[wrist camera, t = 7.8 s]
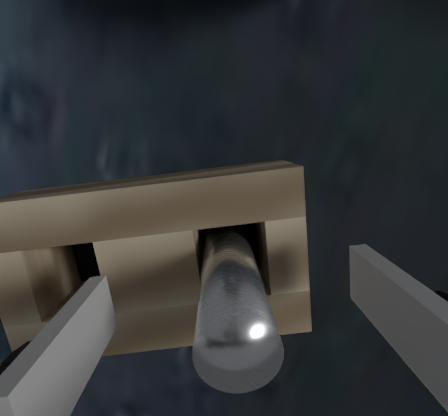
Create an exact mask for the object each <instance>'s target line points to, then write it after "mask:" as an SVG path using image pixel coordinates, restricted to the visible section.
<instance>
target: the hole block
mask: <svg viewBox="0 0 448 416" xmlns="http://www.w3.org/2000/svg"><path fill="white" fill-rule="evenodd" d="M249 223H255V225H256V235H257V246H258V256H259V260H255V261H256V264H257V267H258V270H259V273H260V276H261V279H262V282H263V285H264V288H265V291H266V294H267V298H268V301H269V304H270V307H271V310H272V313H273V316H274V319H275V322H276V325H277V328H278V331H279V334H280V335H285V334H293V333H301V332H310V331H312V328H311V309H310V289H309V270H308V250H307V231H306V211H305V192H304V172H303V166H300V165H297V164H294V163H291V162H287V161H284V160H276V161H268V162H259V163H251V164H243V165H234V166H226V167H218V168H209V169H201V170H193V171H184V172H176V173H168V174H159V175H151V176H143V177H135V178H126V179H118V180H110V181H101V182H93V183H85V184H76V185H68V186H60V187H51V188H43V189H35V190H26V191H22V192H18V193H14V194H10V195H7V196H3V197H0V318H1V321H2V324H3V327H4V330H5V333H6V336H7V339H8V342H9V344H10V347H11V350H12V352H13V351H15V350H16V349H17V348H19V347H20V346H22V345H23V344H24V343H26V342H27V341H32V340H33V339H34V338H35V337H36V336H37V335H38V334H39V332H40V331H41V330H42V329H43V328H44V327H45V326H46V325H47V324H48V323H49V321H50V320H51V319H52V318H53V317H54V316H55V315H56V314H57V313H58V312H59V311H60V309H61V308H62V307H63V306H64V305H65V304H66V303H67V302H68V301H69V300H70V299H71V297H72V296H73V295H74V294H75V293H76V292H77V291H78V290H79V289H80V288H81V287H82V285H83V284H84V283H85V282H86V281H81V279H80V275H79V271H78V267H77V264H76V260H75V256H74V252H73V248H72V245H74V244H82V243H90V242H93V247H94V251H95V255H96V259H97V263H98V268H99V272H100V276H104V275H106V277H107V282H108V286H109V290H110V295H111V299H112V303H113V307H114V312H115V316H116V320H117V325H118V326H117V328H116V329H115V331H114V333H113V335H112V337H111V339H110V341H109V343H108V345H107V346H106V348H105V350H104V352H103V354H102V356H109V355H117V354H125V353H134V352H142V351H151V350H159V349H167V348H176V347H184V346H193V345H194V336H195V327H196V318H197V308H198V299H199V290H200V281H201V272H202V262H203V253H204V248H203V241H202V234H201V229H207V228H215V227H224V226H232V225H240V224H249Z"/></svg>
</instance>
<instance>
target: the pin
mask: <svg viewBox="0 0 448 416" xmlns="http://www.w3.org/2000/svg"><path fill="white" fill-rule="evenodd" d="M283 358H284V348H283V343H282V340H281V337H280V334H279V331H278V328H277V325H276V322H275V319H274V316H273V313H272V310H271V307H270V304H269V301H268V298H267V294H266V291H265V288H264V285H263V282H262V279H261V276H260V273H259V270H258V267H257V264H256V261H255V258H254V255H253V252H252V249H251V245H250V242H249V239H248V236H247V233H246V230H245V228H244V226H243V224H240V225H232V226H224V227H215V228H207V230H206V235H205V244H204V253H203V262H202V272H201V281H200V290H199V299H198V308H197V318H196V327H195V336H194V345H193V363H194V367H195V369H196V371H197V373H198V375H199V376H200V377H201V378H202V380H204V381H205V382H206V383H207V384H208V385H210V386H211V387H213V388H215V389H218V390H220V391H224V392H228V393H245V392H250V391H253V390H256V389H258V388H261V387H262V386H264V385H266V384H267V383H268V382H270V381H271V380H272V379H273V378H274V377H275V376H276V374H277V373H278V371H279V370H280V368H281V365H282V362H283Z"/></svg>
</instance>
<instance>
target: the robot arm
mask: <svg viewBox="0 0 448 416" xmlns="http://www.w3.org/2000/svg"><path fill="white" fill-rule="evenodd" d="M350 298H351V299H352V300H353V301H354V303H355V304H356V305H357V306H358V307H359V308H360V310H361V311H362V312H363V313H364V314H365V315H366V317H367V318H368V319H369V320H370V321H371V323H372V324H373V325H374V326H375V327H376V328H377V330H378V331H379V332H380V333H381V334H382V336H383V337H384V338H385V339H386V340H387V341H388V343H389V344H390V345H391V346H392V347H393V348H394V350H395V351H396V352H397V353H398V354H399V356H400V357H401V358H402V359H403V360H404V361H405V363H406V364H407V365H408V366H409V367H410V369H411V370H412V371H413V372H414V373H415V374H416V376H417V377H418V378H419V379H420V380H421V382H422V383H423V384H424V385H425V386H426V387H427V389H428V390H429V391H430V392H431V393H432V394H433V396H434V397H435V398H436V399H437V400H438V402H439V403H440V404H441V405H442V406H443V407H444V409H445V410H446V411H447V412H448V294H446V293H444V292H441V291H436V292H433V291H432V290H430V289H429V288H427V287H426V286H424V285H423V284H422V283H420V282H419V281H417V280H416V279H414V278H413V277H412V276H410V275H409V274H407V273H406V272H404V271H403V270H402V269H400V268H399V267H397V266H396V265H394V264H393V263H392V262H390V261H389V260H387V259H386V258H384V257H383V256H382V255H380V254H379V253H377V252H376V251H374V250H373V249H372V248H370V247H369V246H367V245H366V244H363V245H355V246H350ZM117 326H118V325H117V320H116V316H115V312H114V307H113V303H112V299H111V295H110V290H109V286H108V282H107V277H106V275H104V276H96V277H90V278H89V279H88V280H87V281H86V282H85V283H84V284H83V285H82V287H81V288H80V289H79V290H78V291H77V292H76V293H75V294H74V295H73V296H72V297H71V299H70V300H69V301H68V302H67V303H66V304H65V305H64V306H63V307H62V308H61V309H60V311H59V312H58V313H57V314H56V315H55V316H54V317H53V318H52V319H51V320H50V321H49V323H48V324H47V325H46V326H45V327H44V328H43V329H42V330H41V331H40V332H39V334H38V335H37V336H36V337H35V338H34V339H33V340H32V341H27V342H26V343H24V344H23V345H22V346H20V347H19V348H17V349H16V350H15V351H13V352H12V353H11V354H10V355H9V356H8V357H7V358H6V359H5V360H4V361H3V362H2V363H1V366H0V416H70V414H71V413H72V411H73V409H74V407H75V405H76V403H77V401H78V399H79V397H80V396H81V394H82V392H83V390H84V388H85V386H86V384H87V382H88V380H89V379H90V377H91V375H92V373H93V371H94V369H95V367H96V365H97V363H98V362H99V360H100V358H101V356H102V354H103V352H104V350H105V348H106V346H107V345H108V343H109V341H110V339H111V337H112V335H113V333H114V331H115V329H116V328H117Z"/></svg>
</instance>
